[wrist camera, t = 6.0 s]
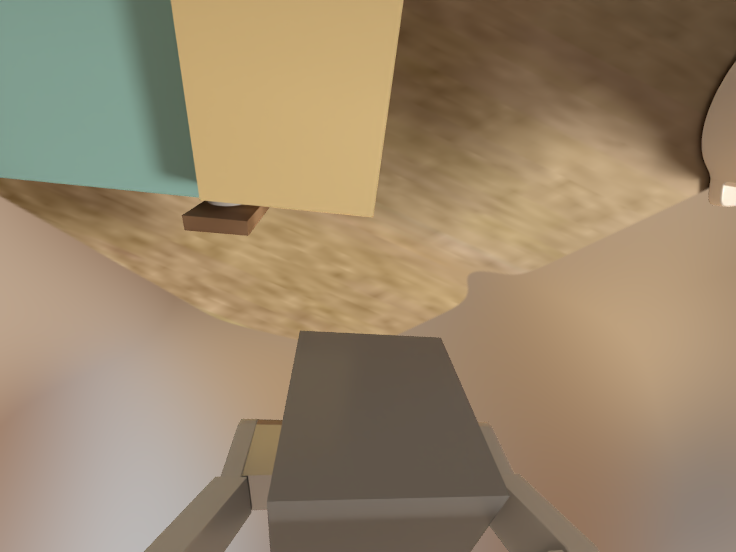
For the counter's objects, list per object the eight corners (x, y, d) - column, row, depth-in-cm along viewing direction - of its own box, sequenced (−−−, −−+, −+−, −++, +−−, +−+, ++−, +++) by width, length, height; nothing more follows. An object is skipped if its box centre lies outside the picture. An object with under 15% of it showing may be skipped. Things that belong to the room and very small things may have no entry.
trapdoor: (395, -85, 11) (435, -225, 6) (361, 201, 15) (370, 235, 11) (-238, -241, 8) (-912, -655, 4) (-39, 158, 13) (-231, 180, 9)
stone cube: (440, 337, 11) (510, 496, 6) (412, 424, 13) (448, 582, 9) (299, 330, 10) (266, 501, 6) (297, 423, 12) (273, 593, 8)
